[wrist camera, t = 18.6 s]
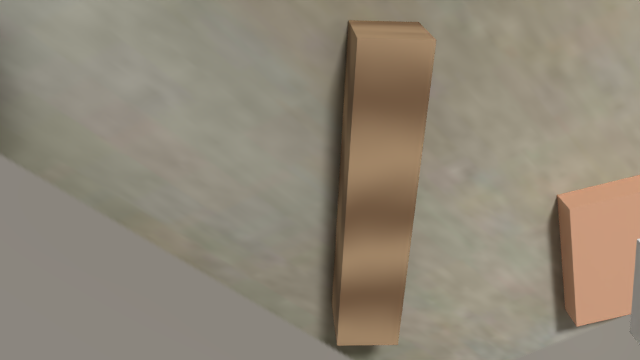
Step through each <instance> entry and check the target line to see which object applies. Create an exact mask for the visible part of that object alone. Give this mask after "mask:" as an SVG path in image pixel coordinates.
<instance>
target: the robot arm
mask: <svg viewBox="0 0 640 360" xmlns="http://www.w3.org/2000/svg"><path fill="white" fill-rule="evenodd" d="M630 333H631V334H632V336H633V337H634V338H635V340H636V341H637V342H638V343H639V344H640V239H637V244H636V257H635V270H634V283H633V296H632V309H631V322H630Z"/></svg>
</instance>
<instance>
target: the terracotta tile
mask: <svg viewBox="0 0 640 360" xmlns="http://www.w3.org/2000/svg"><path fill="white" fill-rule="evenodd" d="M557 199H558V214H559V228H560V242H561V256H562V270H563V284H564V299H565V310H566V311H567V313H568V314H569V316H570V317H571V319H572V320H573V322H574V323H575V325H576V326H582V325H586V324H590V323H595V322H599V321H603V320H608V319H612V318H616V317H621V316H625V315H629V314H631V309H632V296H633V283H634V270H635V257H636V244H637V239H640V175H637V176H633V177H629V178H625V179H621V180H617V181H613V182H609V183H605V184H600V185H596V186H592V187H588V188H584V189H580V190H576V191H572V192H568V193H564V194H559V195H557Z"/></svg>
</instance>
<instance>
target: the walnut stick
mask: <svg viewBox="0 0 640 360" xmlns="http://www.w3.org/2000/svg"><path fill="white" fill-rule="evenodd" d="M435 46H436V39H435V38H434V37H433V36H432V35H431V34H430V33H429V32H428V31H427V30H426V29H425V28H424V27H423V26H422V25H421V24H420V23H419V22H391V21H352V20H349V21H348V38H347V55H346V72H345V89H344V106H343V123H342V140H341V157H340V174H339V191H338V208H337V225H336V243H335V260H334V277H333V294H332V309H333V317H334V325H335V334H336V342H337V346H345V345H398V339H399V331H400V323H401V315H402V307H403V299H404V291H405V283H406V275H407V267H408V260H409V252H410V244H411V236H412V228H413V220H414V212H415V204H416V196H417V188H418V180H419V173H420V165H421V157H422V149H423V141H424V133H425V125H426V117H427V109H428V101H429V94H430V86H431V78H432V70H433V62H434V54H435Z"/></svg>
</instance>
